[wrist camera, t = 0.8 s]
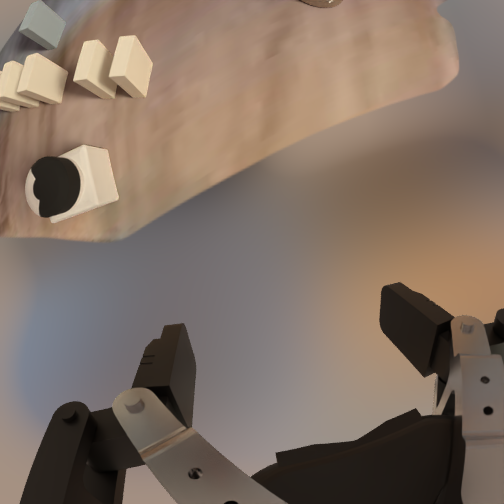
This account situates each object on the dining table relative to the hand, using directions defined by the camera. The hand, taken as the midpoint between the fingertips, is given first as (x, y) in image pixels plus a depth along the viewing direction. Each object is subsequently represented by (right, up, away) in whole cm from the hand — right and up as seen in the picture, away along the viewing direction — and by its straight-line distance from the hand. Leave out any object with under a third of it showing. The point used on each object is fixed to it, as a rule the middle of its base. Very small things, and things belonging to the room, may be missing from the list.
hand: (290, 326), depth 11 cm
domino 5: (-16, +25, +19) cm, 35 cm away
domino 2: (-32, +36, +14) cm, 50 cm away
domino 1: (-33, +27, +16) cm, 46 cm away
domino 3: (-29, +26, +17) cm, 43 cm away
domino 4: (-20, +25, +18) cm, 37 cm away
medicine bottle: (-23, +12, +22) cm, 34 cm away
